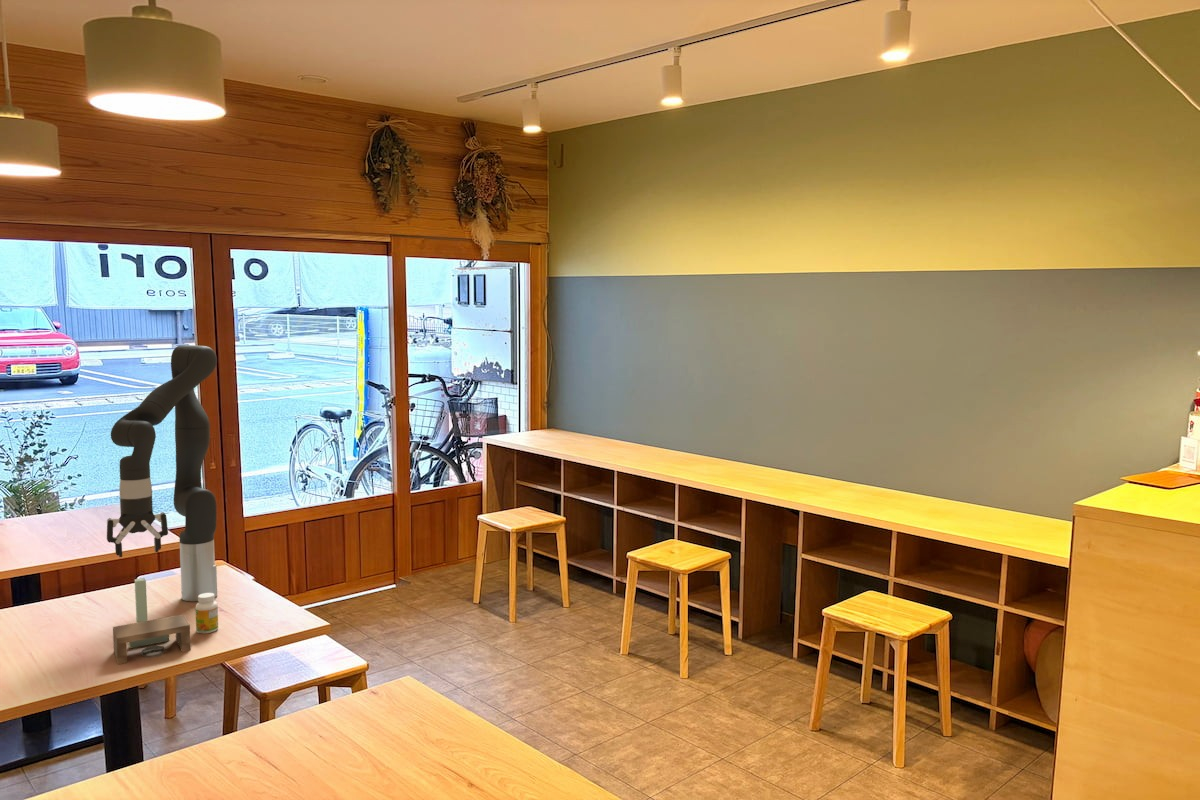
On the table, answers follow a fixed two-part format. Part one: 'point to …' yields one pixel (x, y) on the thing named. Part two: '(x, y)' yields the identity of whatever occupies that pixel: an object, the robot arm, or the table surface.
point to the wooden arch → (150, 633)
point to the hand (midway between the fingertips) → (138, 554)
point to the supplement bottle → (206, 613)
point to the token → (153, 651)
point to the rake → (143, 614)
